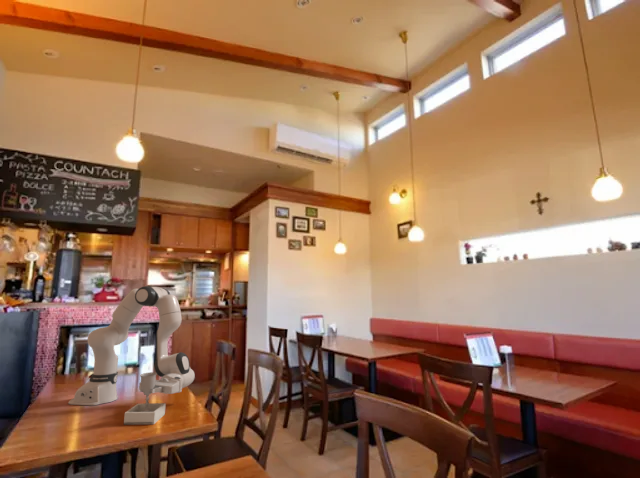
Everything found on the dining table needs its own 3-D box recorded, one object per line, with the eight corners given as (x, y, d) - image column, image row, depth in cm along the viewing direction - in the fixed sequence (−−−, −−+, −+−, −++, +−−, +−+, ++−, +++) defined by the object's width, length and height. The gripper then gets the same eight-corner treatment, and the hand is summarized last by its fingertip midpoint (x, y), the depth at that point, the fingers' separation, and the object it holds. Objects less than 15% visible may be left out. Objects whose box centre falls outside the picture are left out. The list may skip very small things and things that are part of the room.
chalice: (137, 418, 156) (139, 377, 158) (137, 413, 162) (139, 373, 164) (155, 415, 159) (157, 374, 161) (154, 410, 165) (156, 371, 167)
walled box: (123, 424, 153) (124, 412, 154) (137, 414, 166) (138, 403, 167) (153, 424, 154) (154, 412, 155) (164, 414, 167) (165, 403, 167)
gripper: (152, 375, 178) (130, 381, 165) (184, 378, 171) (163, 385, 158) (151, 388, 177) (128, 395, 164) (184, 392, 170) (162, 400, 157)
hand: (146, 390), depth 161 cm, fingers closed on chalice, 5 cm apart
